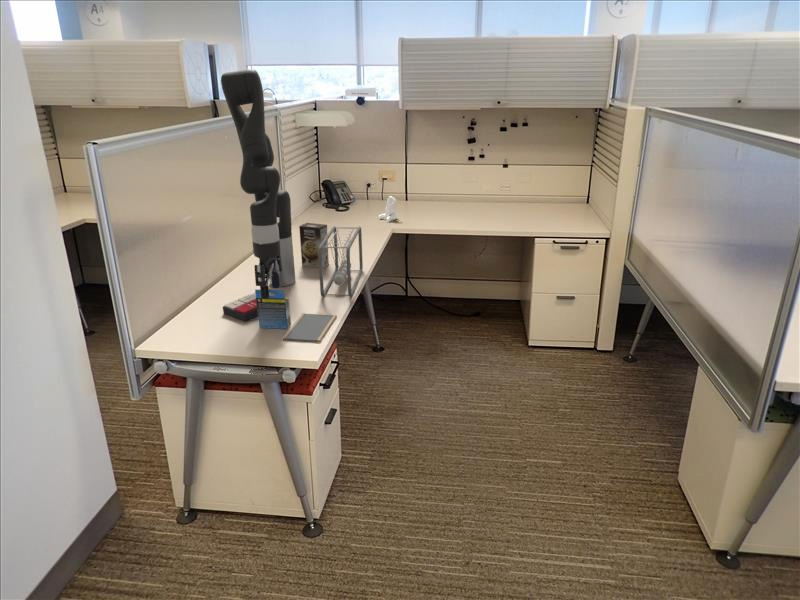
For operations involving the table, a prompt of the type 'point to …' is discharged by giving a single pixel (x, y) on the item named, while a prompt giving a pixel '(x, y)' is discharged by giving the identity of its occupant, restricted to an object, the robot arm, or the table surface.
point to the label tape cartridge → (273, 310)
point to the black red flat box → (242, 308)
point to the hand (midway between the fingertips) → (270, 292)
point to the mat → (309, 328)
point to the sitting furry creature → (389, 210)
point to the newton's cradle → (345, 265)
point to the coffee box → (313, 244)
